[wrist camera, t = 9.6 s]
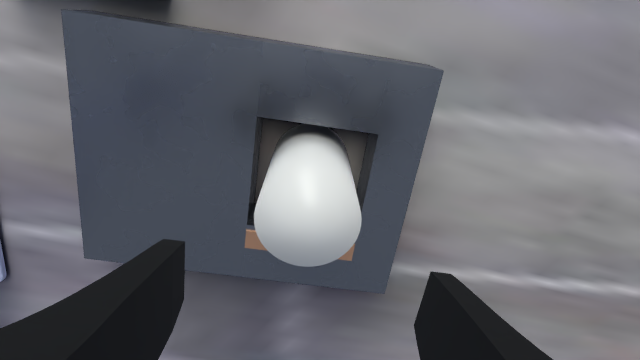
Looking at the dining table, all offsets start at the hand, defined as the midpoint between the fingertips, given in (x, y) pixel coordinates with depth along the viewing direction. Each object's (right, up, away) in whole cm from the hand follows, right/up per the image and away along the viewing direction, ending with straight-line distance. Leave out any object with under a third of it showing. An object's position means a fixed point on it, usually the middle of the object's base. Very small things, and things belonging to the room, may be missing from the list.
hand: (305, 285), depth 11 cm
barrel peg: (0, +4, +10) cm, 10 cm away
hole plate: (-3, +4, +9) cm, 11 cm away
